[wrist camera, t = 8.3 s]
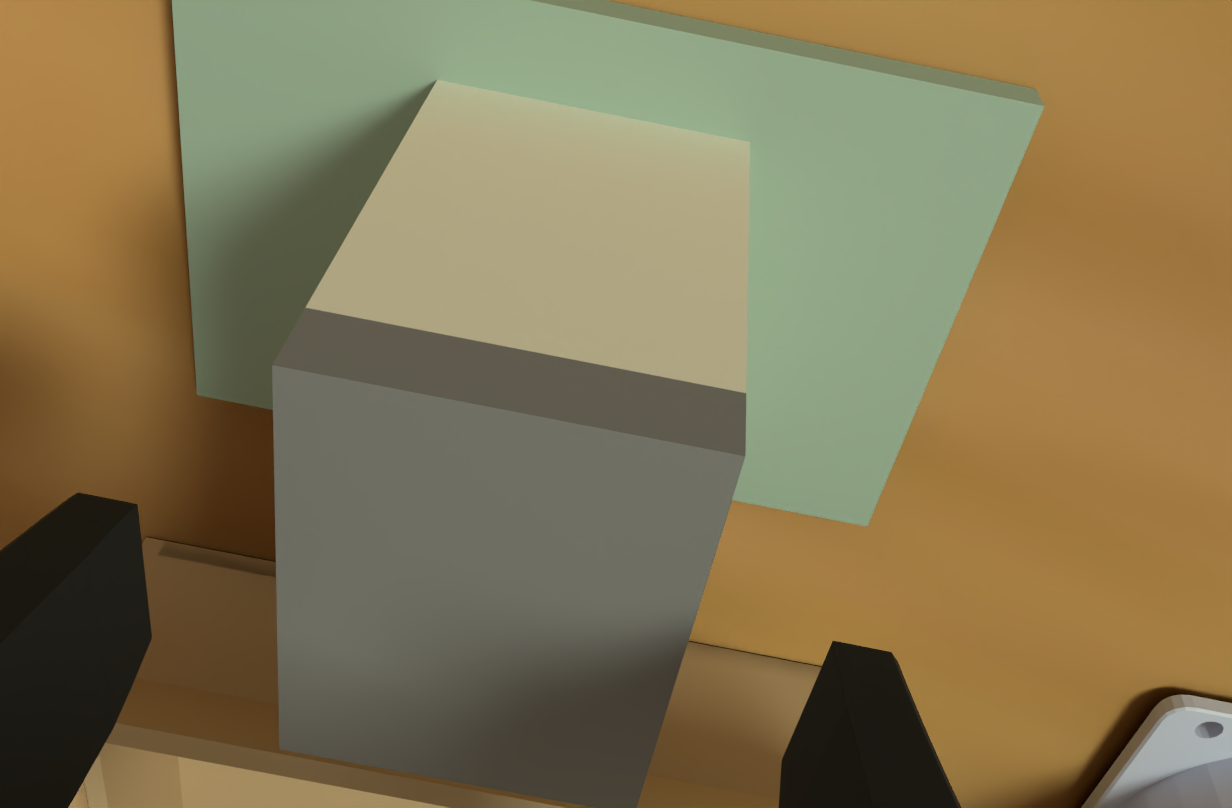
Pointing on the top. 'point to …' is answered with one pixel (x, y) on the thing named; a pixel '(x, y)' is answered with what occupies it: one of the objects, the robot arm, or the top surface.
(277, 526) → the block
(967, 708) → the top surface
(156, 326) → the top surface
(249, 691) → the carton
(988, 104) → the pad
